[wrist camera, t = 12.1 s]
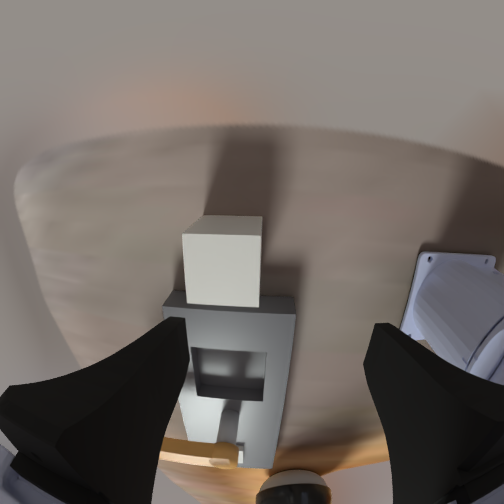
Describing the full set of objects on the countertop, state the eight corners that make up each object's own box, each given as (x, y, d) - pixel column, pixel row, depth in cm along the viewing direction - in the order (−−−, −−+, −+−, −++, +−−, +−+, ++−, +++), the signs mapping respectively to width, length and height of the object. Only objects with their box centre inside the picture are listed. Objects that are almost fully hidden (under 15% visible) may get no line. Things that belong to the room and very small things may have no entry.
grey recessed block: (293, 296, 20) (301, 346, 15) (272, 452, 27) (271, 492, 21) (172, 290, 21) (143, 334, 15) (198, 446, 28) (189, 485, 22)
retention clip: (133, 429, 18) (127, 442, 17) (237, 442, 18) (236, 458, 16) (141, 443, 19) (136, 455, 17) (240, 455, 18) (238, 469, 17)
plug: (262, 216, 19) (260, 235, 14) (260, 272, 20) (258, 307, 15) (203, 215, 19) (182, 233, 14) (205, 269, 20) (187, 303, 15)
